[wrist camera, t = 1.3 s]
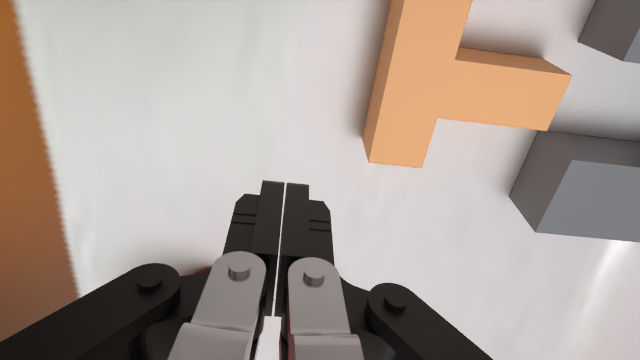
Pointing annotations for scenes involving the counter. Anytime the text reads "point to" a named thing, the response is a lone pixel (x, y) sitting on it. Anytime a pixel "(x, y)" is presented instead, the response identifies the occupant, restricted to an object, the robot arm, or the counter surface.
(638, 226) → the dock
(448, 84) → the t block
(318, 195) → the counter surface
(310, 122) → the counter surface
